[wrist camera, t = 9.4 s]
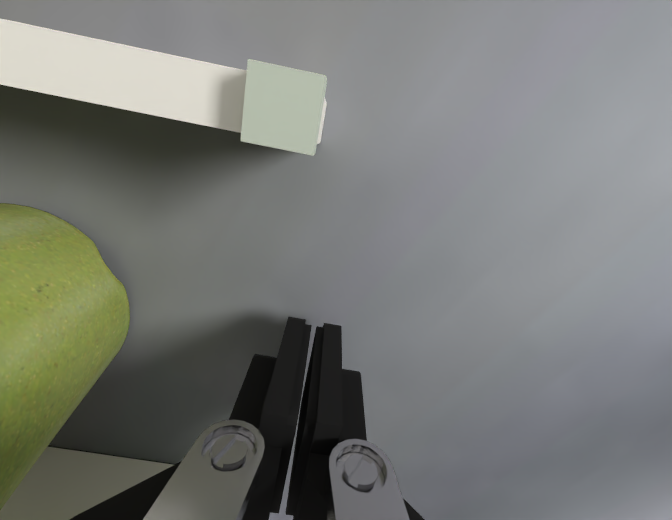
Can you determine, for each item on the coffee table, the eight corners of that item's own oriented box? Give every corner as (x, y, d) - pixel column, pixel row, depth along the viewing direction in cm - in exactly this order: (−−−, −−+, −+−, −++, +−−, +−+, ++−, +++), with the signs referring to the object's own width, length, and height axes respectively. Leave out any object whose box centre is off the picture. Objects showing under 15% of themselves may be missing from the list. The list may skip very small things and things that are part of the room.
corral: (331, 100, 9) (326, 75, 5) (263, 496, 14) (235, 631, 10) (-199, -11, 8) (-657, -135, 5) (-70, 450, 13) (-234, 576, 10)
